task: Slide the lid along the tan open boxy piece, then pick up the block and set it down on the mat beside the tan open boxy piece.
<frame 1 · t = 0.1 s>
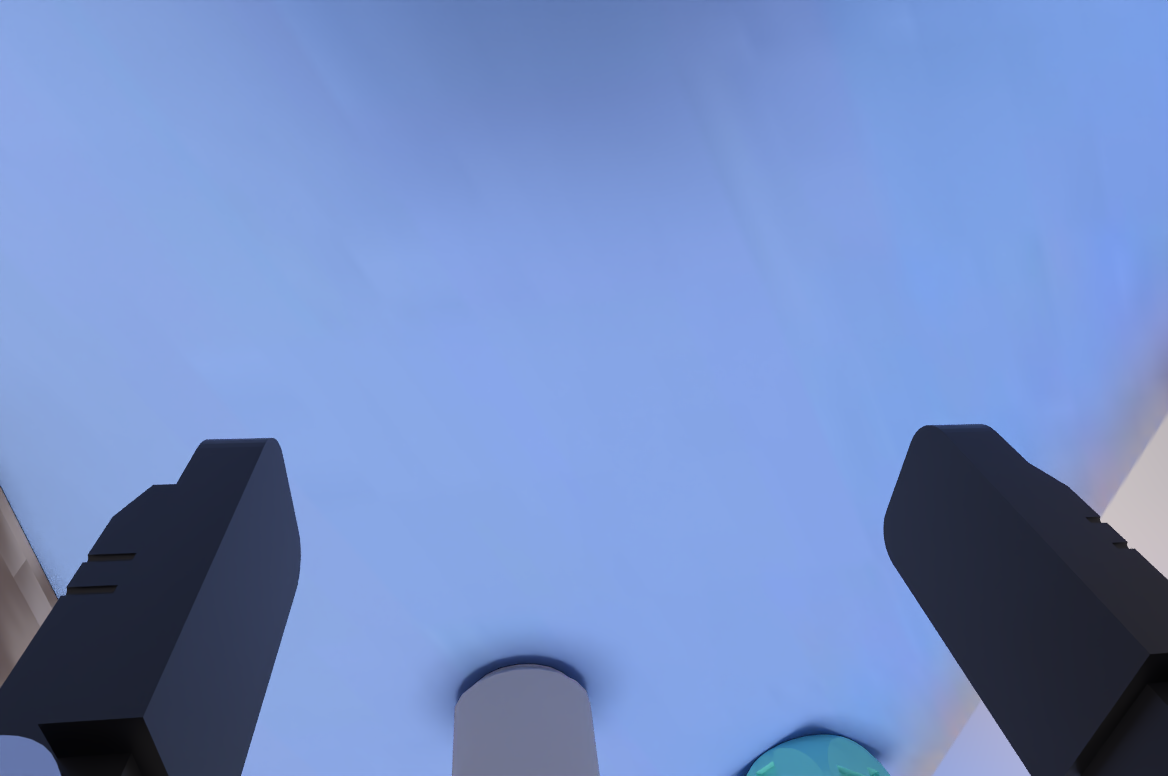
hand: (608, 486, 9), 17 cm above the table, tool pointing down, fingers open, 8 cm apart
can: (521, 693, 40), on the table
decorative dice: (802, 763, 48), on the table
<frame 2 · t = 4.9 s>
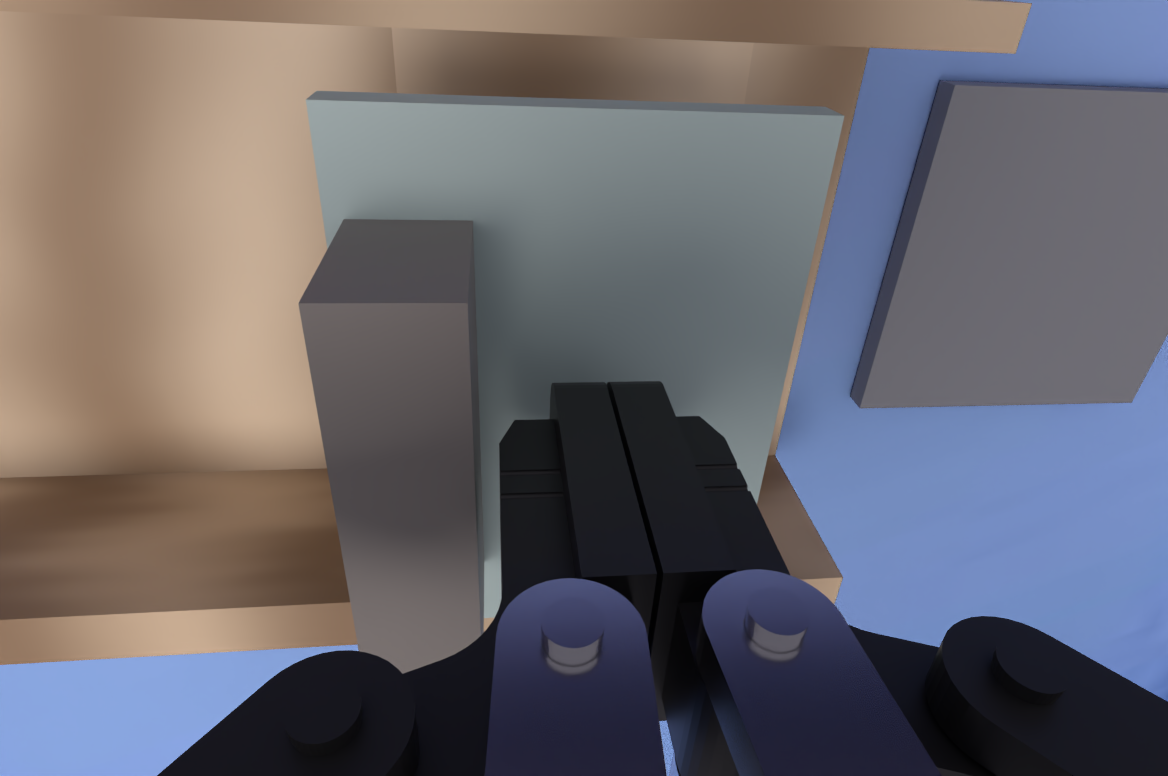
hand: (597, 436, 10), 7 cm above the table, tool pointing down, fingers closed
lid: (579, 451, 10), point 8 cm above the table, slide at 0.4 cm, touching gripper
mat: (1040, 257, 18), on the table
tan open boxy piece: (384, 254, 16), on the table
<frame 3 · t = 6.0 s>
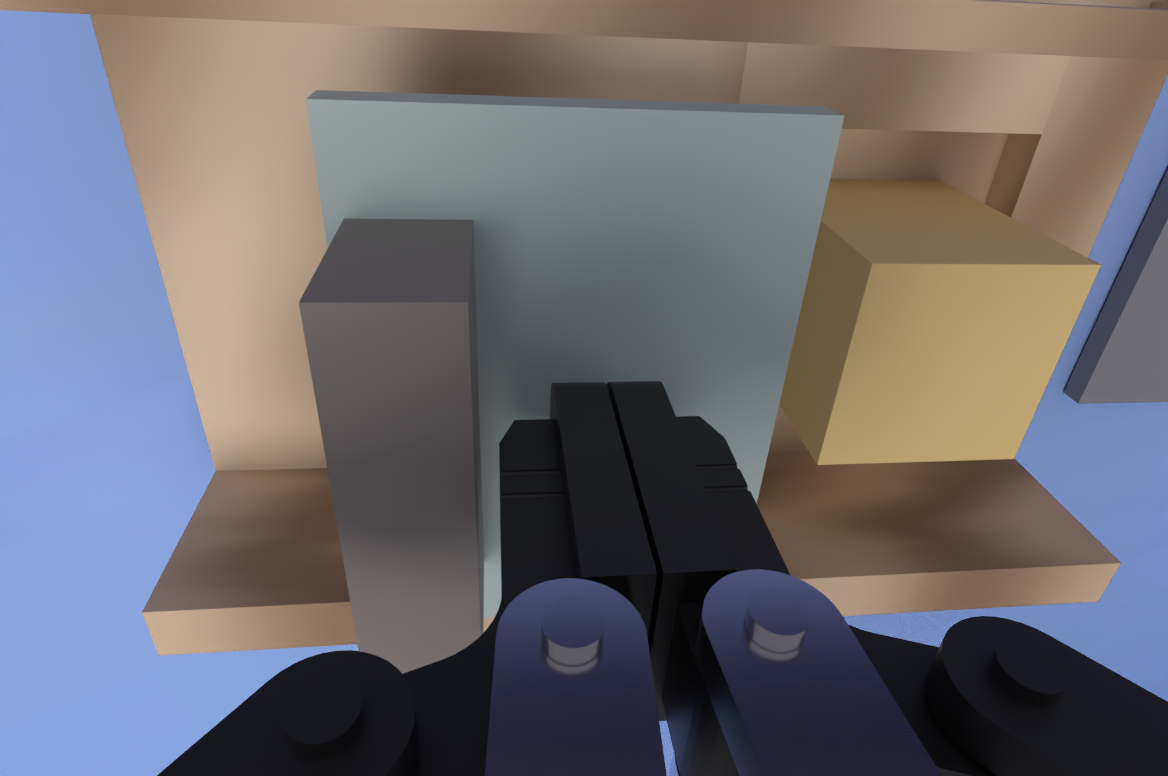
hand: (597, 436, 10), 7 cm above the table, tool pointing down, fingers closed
lid: (579, 450, 10), point 8 cm above the table, slide at 6.8 cm, touching gripper
block: (834, 264, 17), resting on tan open boxy piece
tan open boxy piece: (664, 255, 17), on the table
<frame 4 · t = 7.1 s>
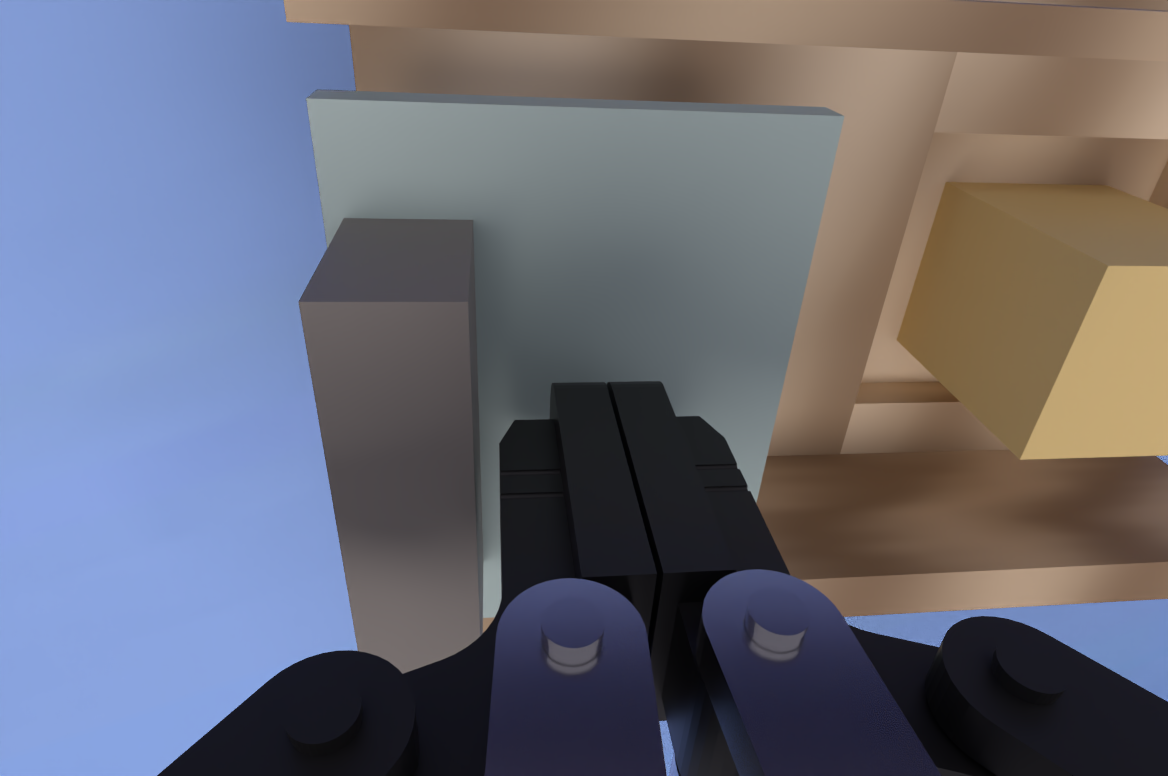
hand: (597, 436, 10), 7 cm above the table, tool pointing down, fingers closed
lid: (578, 450, 10), point 8 cm above the table, slide at 10.9 cm, touching gripper
block: (996, 266, 17), resting on tan open boxy piece
tan open boxy piece: (831, 257, 17), on the table
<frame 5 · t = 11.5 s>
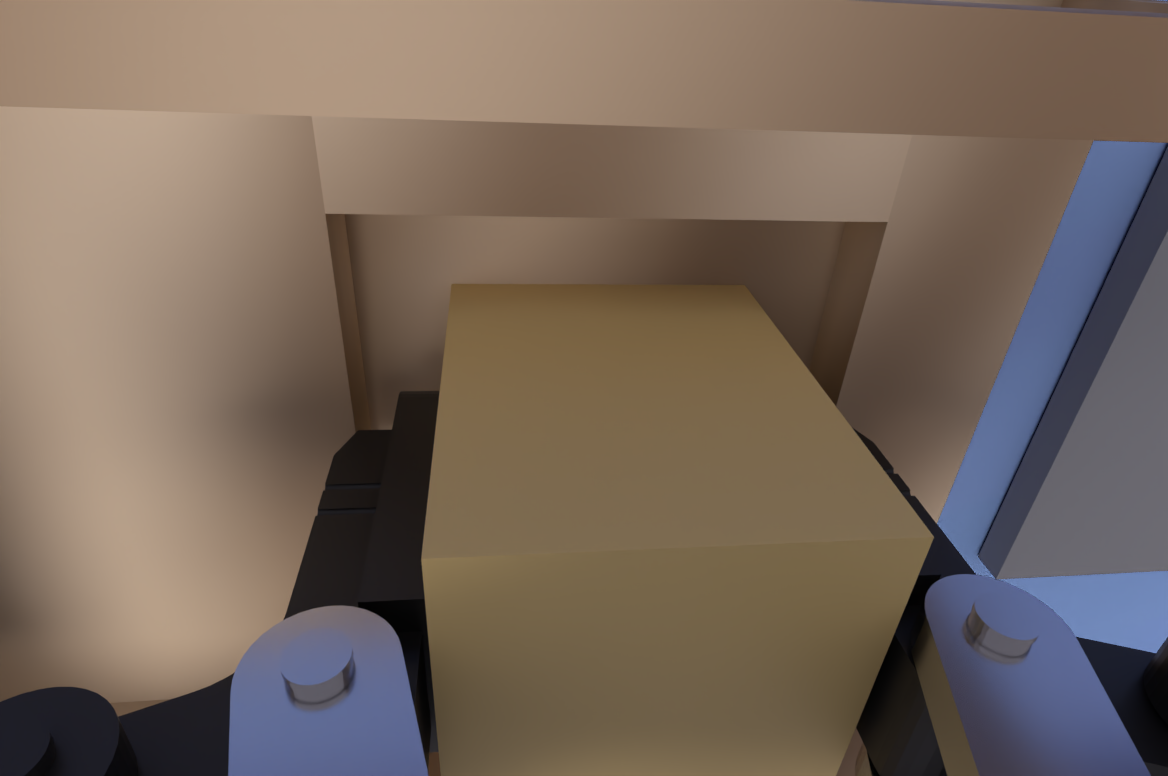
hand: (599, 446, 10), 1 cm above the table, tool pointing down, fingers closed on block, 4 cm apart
block: (593, 408, 11), point 1 cm above the table, touching tan open boxy piece, gripper
tan open boxy piece: (322, 394, 11), on the table
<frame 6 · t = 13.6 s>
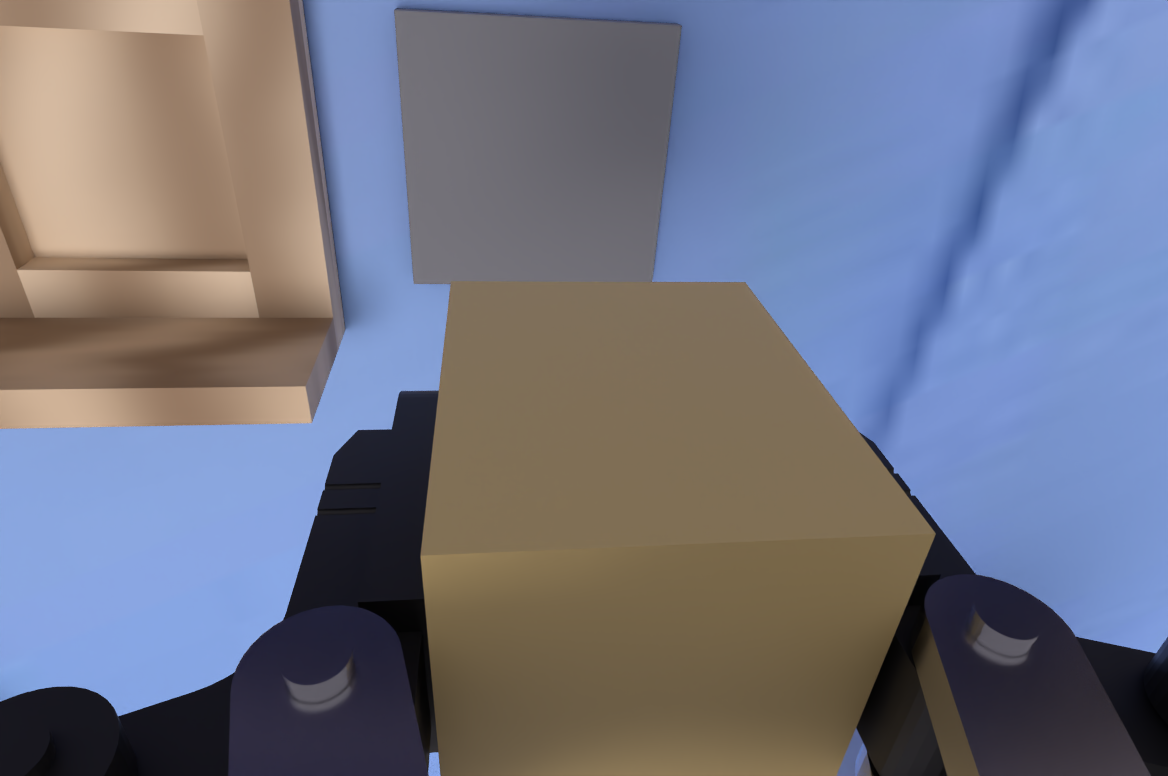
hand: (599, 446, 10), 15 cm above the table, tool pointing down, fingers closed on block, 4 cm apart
block: (593, 406, 11), point 14 cm above the table, touching gripper
mat: (536, 158, 23), on the table
when the fingers open (3 cm above the table, at t = 16.2 s): block drops 2 cm, resting on mat.
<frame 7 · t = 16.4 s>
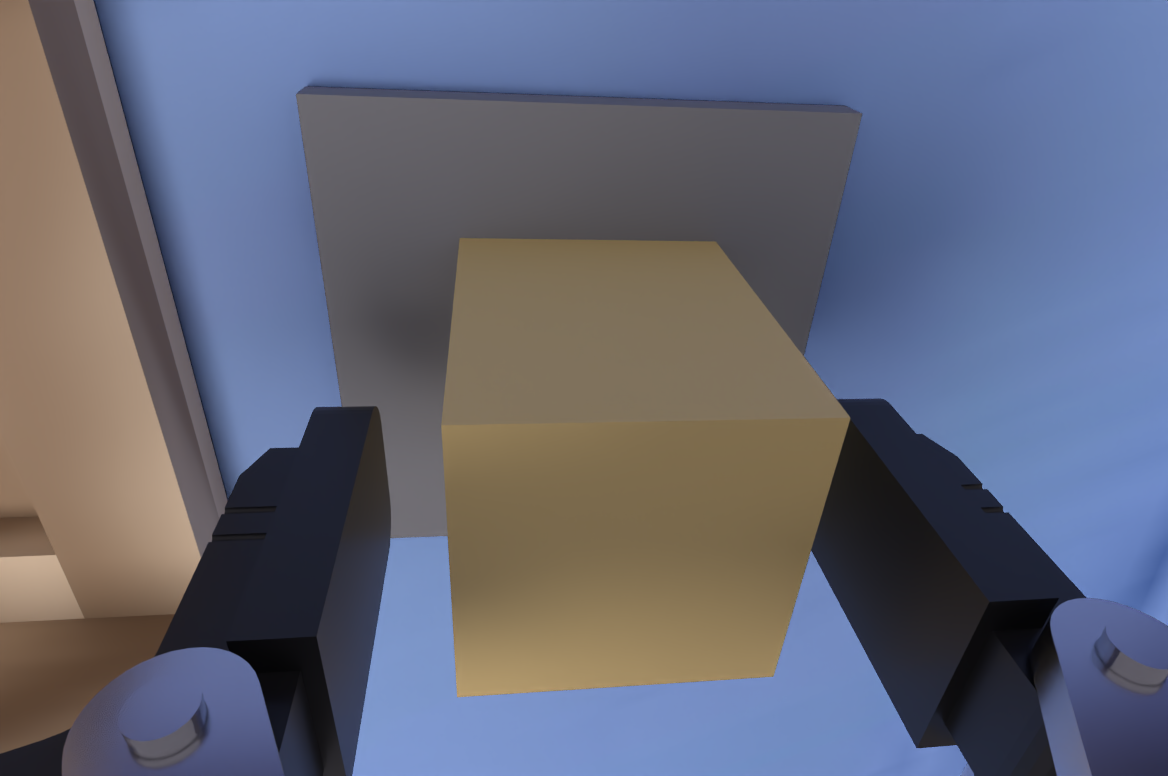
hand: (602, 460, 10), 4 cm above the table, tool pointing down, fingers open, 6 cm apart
block: (583, 353, 12), point 1 cm above the table, touching mat
mat: (575, 337, 13), on the table
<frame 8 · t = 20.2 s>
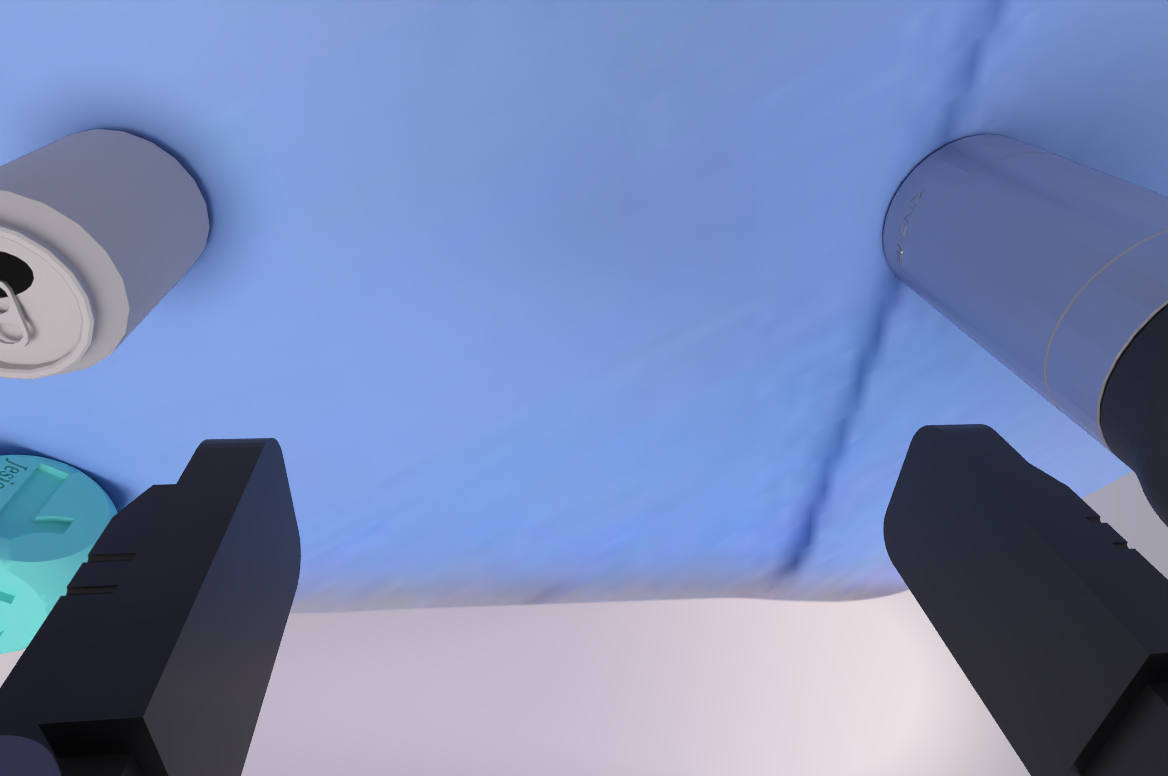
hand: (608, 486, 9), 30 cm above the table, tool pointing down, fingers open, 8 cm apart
can: (135, 202, 36), on the table
decorative dice: (46, 503, 44), on the table
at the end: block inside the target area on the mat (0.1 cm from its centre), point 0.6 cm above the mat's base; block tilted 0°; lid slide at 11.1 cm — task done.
